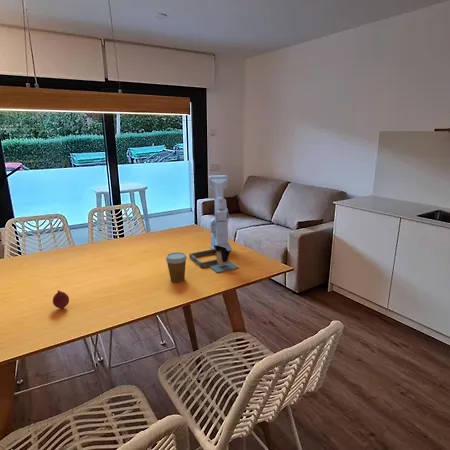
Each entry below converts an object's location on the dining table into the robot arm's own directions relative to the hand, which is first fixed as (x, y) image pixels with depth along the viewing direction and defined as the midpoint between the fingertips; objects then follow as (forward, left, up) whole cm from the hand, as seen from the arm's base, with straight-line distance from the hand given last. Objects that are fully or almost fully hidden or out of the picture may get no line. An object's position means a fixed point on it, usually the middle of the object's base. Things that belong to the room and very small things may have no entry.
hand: (222, 260), depth 171 cm
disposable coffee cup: (+3, -25, -4) cm, 25 cm away
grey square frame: (-12, -2, -4) cm, 13 cm away
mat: (+1, 0, -4) cm, 4 cm away
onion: (+5, -74, -4) cm, 74 cm away
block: (0, 0, -2) cm, 2 cm away
